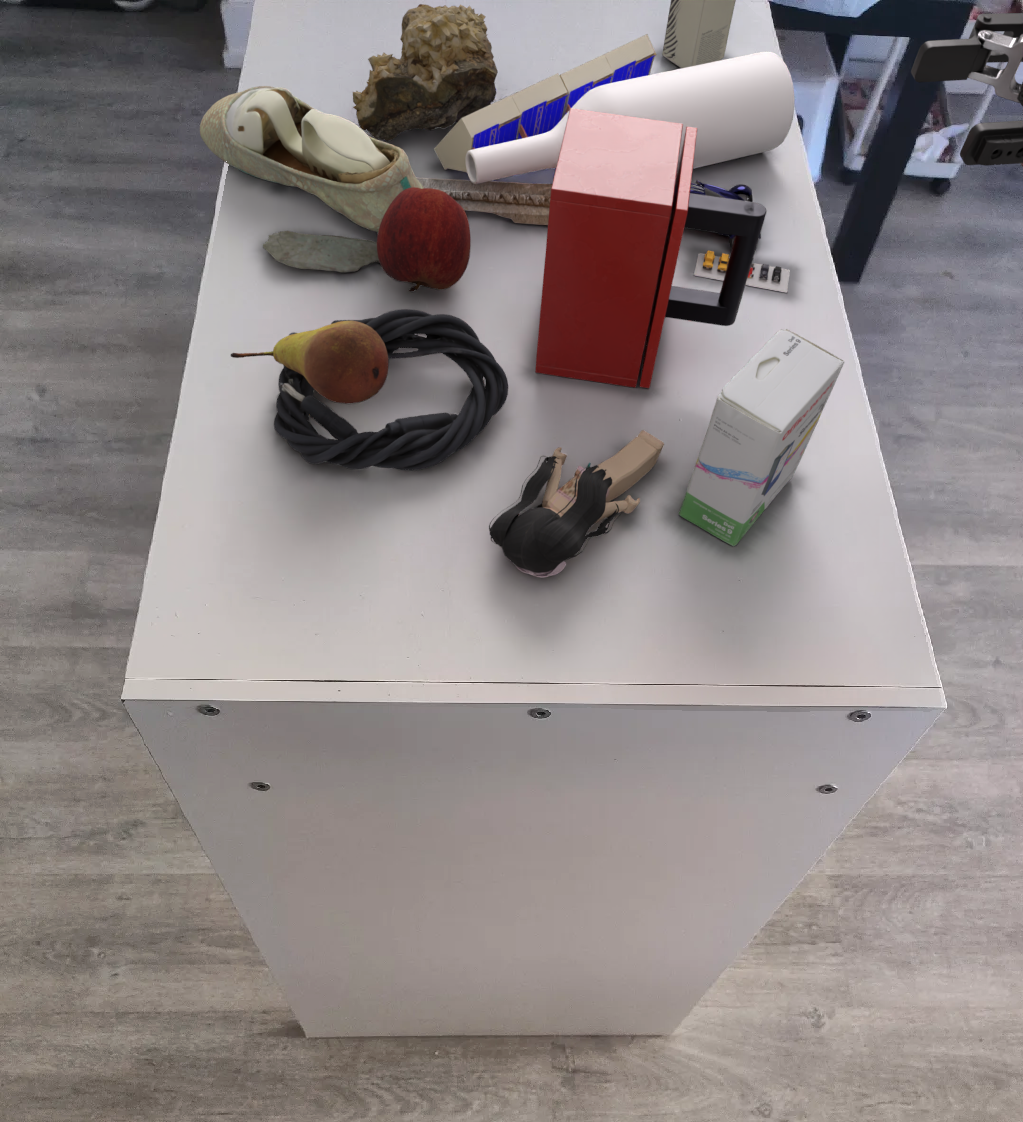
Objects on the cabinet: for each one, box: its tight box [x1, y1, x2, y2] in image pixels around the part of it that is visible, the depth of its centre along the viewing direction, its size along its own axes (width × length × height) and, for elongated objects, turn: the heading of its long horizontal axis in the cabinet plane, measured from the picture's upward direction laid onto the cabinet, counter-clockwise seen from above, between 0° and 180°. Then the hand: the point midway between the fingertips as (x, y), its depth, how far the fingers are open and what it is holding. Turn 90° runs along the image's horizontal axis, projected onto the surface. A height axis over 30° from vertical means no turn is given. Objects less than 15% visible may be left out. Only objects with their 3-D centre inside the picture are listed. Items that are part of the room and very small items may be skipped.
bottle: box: [465, 51, 796, 184], centre depth 90 cm, size 8×8×30 cm
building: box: [433, 33, 658, 175], centre depth 94 cm, size 23×6×4 cm
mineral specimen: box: [352, 3, 499, 142], centre depth 93 cm, size 14×13×10 cm
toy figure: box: [488, 429, 665, 578], centre depth 70 cm, size 7×6×15 cm
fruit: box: [230, 321, 389, 405], centre depth 72 cm, size 6×6×12 cm
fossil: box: [416, 177, 552, 226], centre depth 90 cm, size 18×3×4 cm
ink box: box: [678, 328, 845, 547], centre depth 69 cm, size 9×5×12 cm, turn 143°
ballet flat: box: [199, 85, 423, 233], centre depth 87 cm, size 8×25×8 cm, turn 57°
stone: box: [262, 230, 380, 273], centre depth 85 cm, size 11×2×5 cm
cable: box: [273, 308, 509, 472], centre depth 75 cm, size 17×14×4 cm
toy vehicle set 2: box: [693, 250, 791, 294], centre depth 87 cm, size 3×8×1 cm, turn 77°
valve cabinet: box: [534, 108, 683, 388], centre depth 76 cm, size 8×10×16 cm
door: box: [639, 126, 767, 389], centre depth 75 cm, size 6×10×15 cm, turn 171°
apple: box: [376, 187, 472, 293], centre depth 81 cm, size 7×8×8 cm
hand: (941, 102), depth 62 cm, fingers open, 8 cm apart
